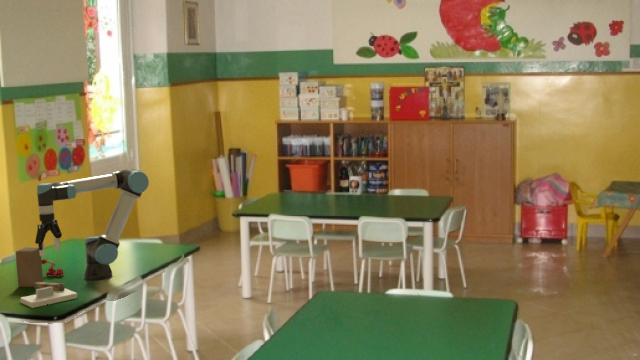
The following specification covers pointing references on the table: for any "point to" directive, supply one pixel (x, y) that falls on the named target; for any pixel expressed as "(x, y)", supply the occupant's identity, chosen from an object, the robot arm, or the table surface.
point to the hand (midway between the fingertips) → (50, 253)
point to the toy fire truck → (52, 271)
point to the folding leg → (49, 285)
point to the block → (28, 267)
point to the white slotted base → (48, 297)
